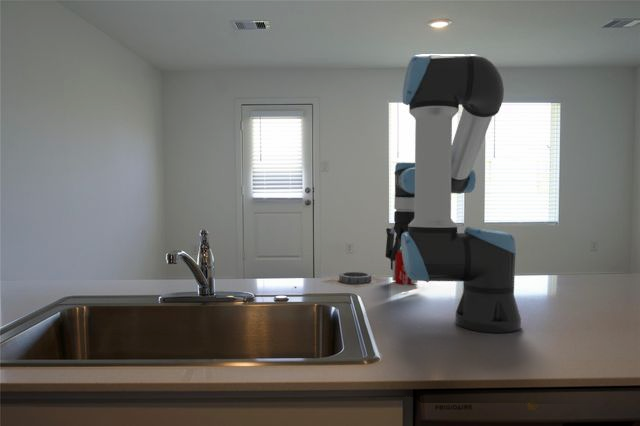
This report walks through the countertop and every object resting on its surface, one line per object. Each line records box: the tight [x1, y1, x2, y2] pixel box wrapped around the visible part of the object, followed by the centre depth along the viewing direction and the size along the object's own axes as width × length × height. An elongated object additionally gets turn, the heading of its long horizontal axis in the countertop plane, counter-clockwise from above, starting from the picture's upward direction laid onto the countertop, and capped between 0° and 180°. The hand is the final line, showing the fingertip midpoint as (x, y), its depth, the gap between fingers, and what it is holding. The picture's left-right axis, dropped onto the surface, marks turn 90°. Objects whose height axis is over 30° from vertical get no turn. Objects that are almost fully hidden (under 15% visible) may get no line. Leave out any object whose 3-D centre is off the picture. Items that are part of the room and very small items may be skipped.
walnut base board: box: [321, 276, 389, 289], centre depth 173 cm, size 18×14×2 cm
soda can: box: [394, 249, 413, 286], centre depth 169 cm, size 6×6×12 cm
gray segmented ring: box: [338, 271, 373, 284], centre depth 172 cm, size 10×10×2 cm
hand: (404, 281), depth 169 cm, fingers closed on soda can, 6 cm apart
